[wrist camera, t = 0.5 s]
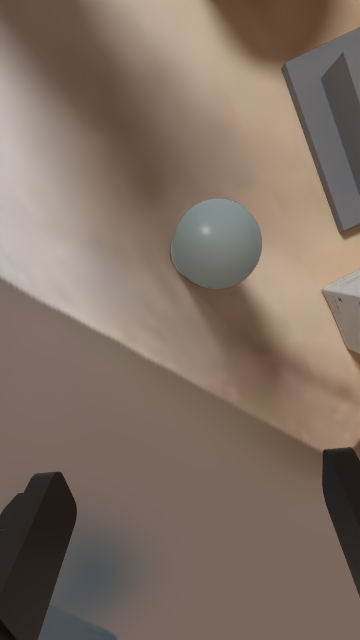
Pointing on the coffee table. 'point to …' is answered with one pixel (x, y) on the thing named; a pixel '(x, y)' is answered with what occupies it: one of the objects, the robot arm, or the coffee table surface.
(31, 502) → the robot arm
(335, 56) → the socket block
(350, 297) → the supplement box
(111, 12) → the coffee table surface
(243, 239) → the peg
